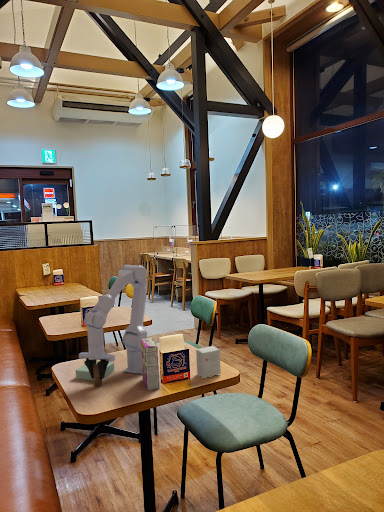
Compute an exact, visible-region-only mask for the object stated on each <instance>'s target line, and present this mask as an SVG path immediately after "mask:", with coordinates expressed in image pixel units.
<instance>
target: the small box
mask: <svg viewBox="0 0 384 512" xmlns="http://www.w3.org/2000/svg"><path fill="white" fill-rule="evenodd" d="M195 352H196V353H195V354H196V375H197V374H198V375H197V376H199V377H200V376H201V377H200V378H202V379H203V378H206V379H208V378H207V377H210V378H212V377H211V376H214V375H218V374H221V349H220V348H217V347H216V346H214V345H211V346H206V347H200V348H197V349H196V351H195ZM218 376H219V375H218ZM214 377H215V376H214Z"/></svg>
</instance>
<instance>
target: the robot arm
mask: <svg viewBox="0 0 384 512" xmlns="http://www.w3.org/2000/svg"><path fill="white" fill-rule="evenodd" d="M117 274H118V275H117V277H116V279H115V280H114V282H113V283H112V285H111V287H110V289H109V290H108V292H107V294H104V295H102V296H99V298H98V301H97V303H96V304H95V306H94V307H92V309H91V311H89V312H87V313H86V314H85V315H84V319H83V324H84V325H85V326H86V327H85V328H86V331H87V344H88V346H87V348H88V351H87V352H80V353H78V359H79V360H82V359H84V360H85V361H84V362H83V363H84V364H83V365H86V366H87V368H88V370H89V372H90V375H91V378H92V379H93V378H94V376H93V365H94V364H96V361H99V362H98V363H97V365H98V368H99V376H100V380H102V379H103V378H104V377H105V372H106V368H107V365H108V363H109V362H111V363H114V362H115V360H116V355H115V354H110V353H107V352H105V341H104V338H105V337H104V326H105V325H106V323H107V317H108V314H109V313H110V312H111V311H112V308H113V307H114V306H115V305H116V302H115V299H116V298H117V297H118V295H119V294H120V293H121V292H122V291H123V290H124V287H125V286H126V285H128V284H130V285H131V286H132V287H133V294H132V302H131V310H130V311H131V312H130V321H129V325H128V326H127V327H126V328H125V329H124V330H125V331H124V333H123V335H122V344H123V346H125V349H126V359H127V361H126V362H127V368H125V369H124V370H123V372H124V373H131V374H142V359H141V342H140V339H145V338H148V330H147V329H146V328H145V327H144V320H145V310H146V302H147V301H146V299H147V292H148V291H147V290H148V279H147V277H148V270H147V269H146V268H145V266H143V265H140V264H139V265H135V264H134V265H132V264H124V265H122V266H121V268H120V270H118V273H117ZM105 378H106V377H105ZM105 378H104V379H105ZM104 379H103V380H104ZM103 380H102V381H103Z"/></svg>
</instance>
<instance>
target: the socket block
mask: <svg viewBox="0 0 384 512" xmlns="http://www.w3.org/2000/svg"><path fill="white" fill-rule="evenodd" d="M99 361H100V360H97V361H96V364H97V363H98V362H99ZM113 372H115V362H110V361H109V363H108V365H107V368H106V372H105V377H104V378H103V379H102V381H103V380H104V379H106V377H108V376H109V375H111V374H112V373H113ZM75 379H76V380H85V381H93V382H94V378H93V379H92V378H91V375H90V372H89V370H88V368H87V366H86V365H85V364H83V365H82V366H79V368H77V369H75Z"/></svg>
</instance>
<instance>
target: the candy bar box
mask: <svg viewBox="0 0 384 512" xmlns="http://www.w3.org/2000/svg"><path fill="white" fill-rule="evenodd" d="M140 342H141V359H142V376H141V377H142V381H143V383H144V385H145V388H146V390H147V391H153V390H154V391H155V390H159V389H160V371H159V369H160V368H159V355H158V354H159V353H158V351H159V350H158V345H157V344H156V341H155V340H154V339H153V337H147V338H145V339H140Z"/></svg>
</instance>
